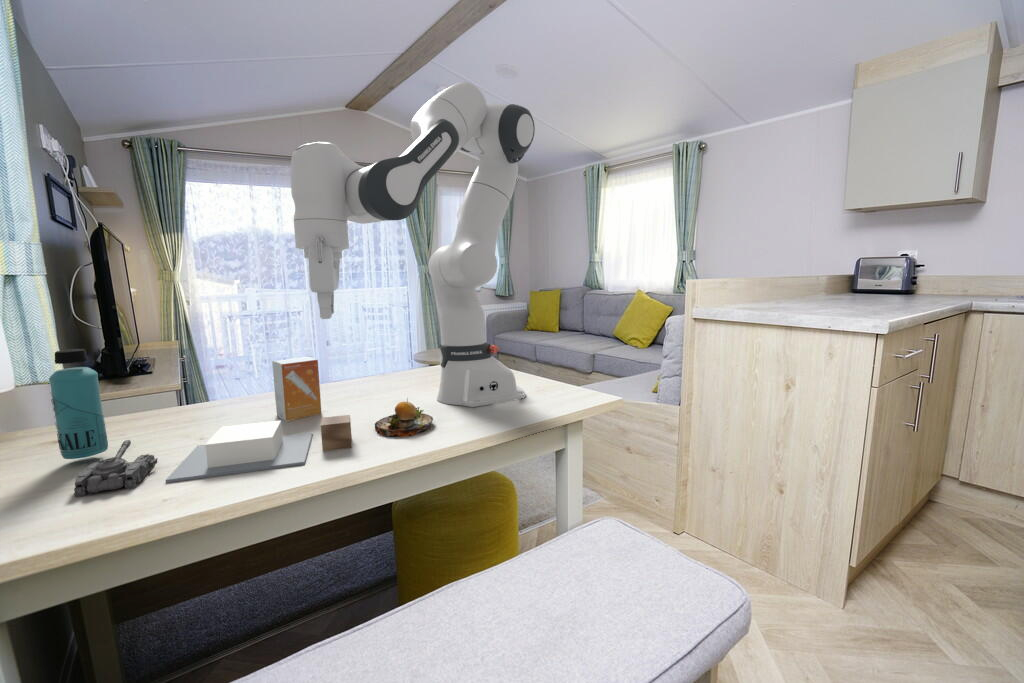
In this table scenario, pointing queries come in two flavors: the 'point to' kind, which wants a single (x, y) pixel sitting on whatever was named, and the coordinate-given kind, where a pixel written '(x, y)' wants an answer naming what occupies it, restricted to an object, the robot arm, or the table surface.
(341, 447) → the walnut block
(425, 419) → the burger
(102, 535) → the table surface
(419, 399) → the table surface
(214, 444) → the white plinth
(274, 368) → the small box
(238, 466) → the plain slate board
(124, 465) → the tank toy
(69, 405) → the beverage bottle
